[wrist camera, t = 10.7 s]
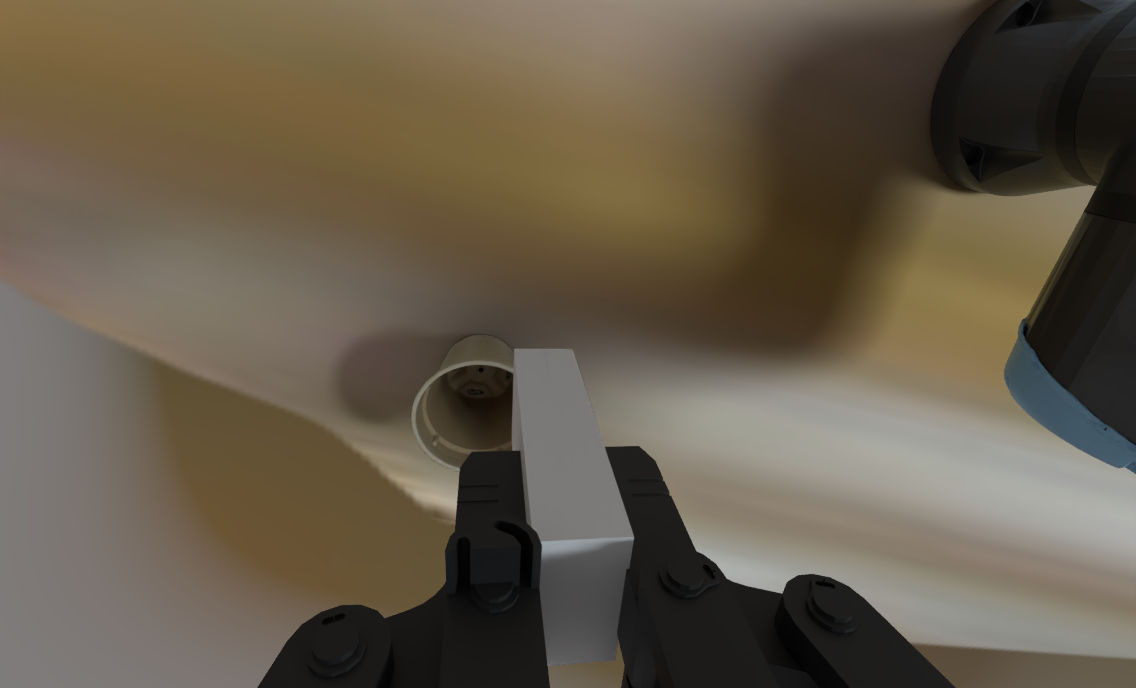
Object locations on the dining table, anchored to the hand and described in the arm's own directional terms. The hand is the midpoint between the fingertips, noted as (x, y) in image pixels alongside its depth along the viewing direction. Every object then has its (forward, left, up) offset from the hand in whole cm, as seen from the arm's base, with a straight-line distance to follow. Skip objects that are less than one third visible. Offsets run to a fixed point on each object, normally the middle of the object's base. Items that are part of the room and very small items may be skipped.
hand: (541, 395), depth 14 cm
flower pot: (+2, +14, -30) cm, 33 cm away
